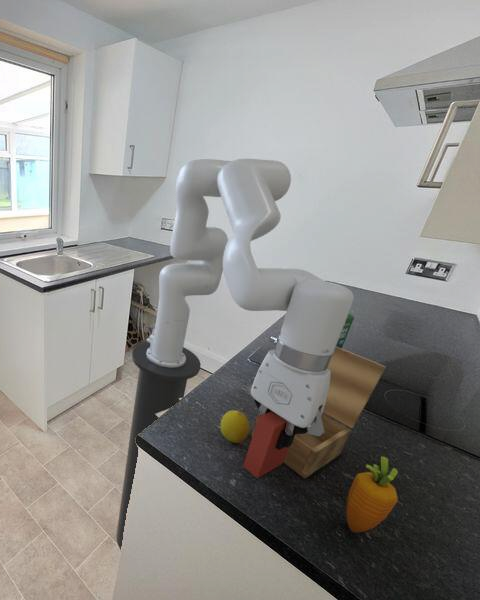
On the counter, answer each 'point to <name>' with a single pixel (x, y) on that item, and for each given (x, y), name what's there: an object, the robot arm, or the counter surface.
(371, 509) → the carrot
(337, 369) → the wooden slab
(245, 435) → the lemon
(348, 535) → the counter surface
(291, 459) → the chest
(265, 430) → the brick
